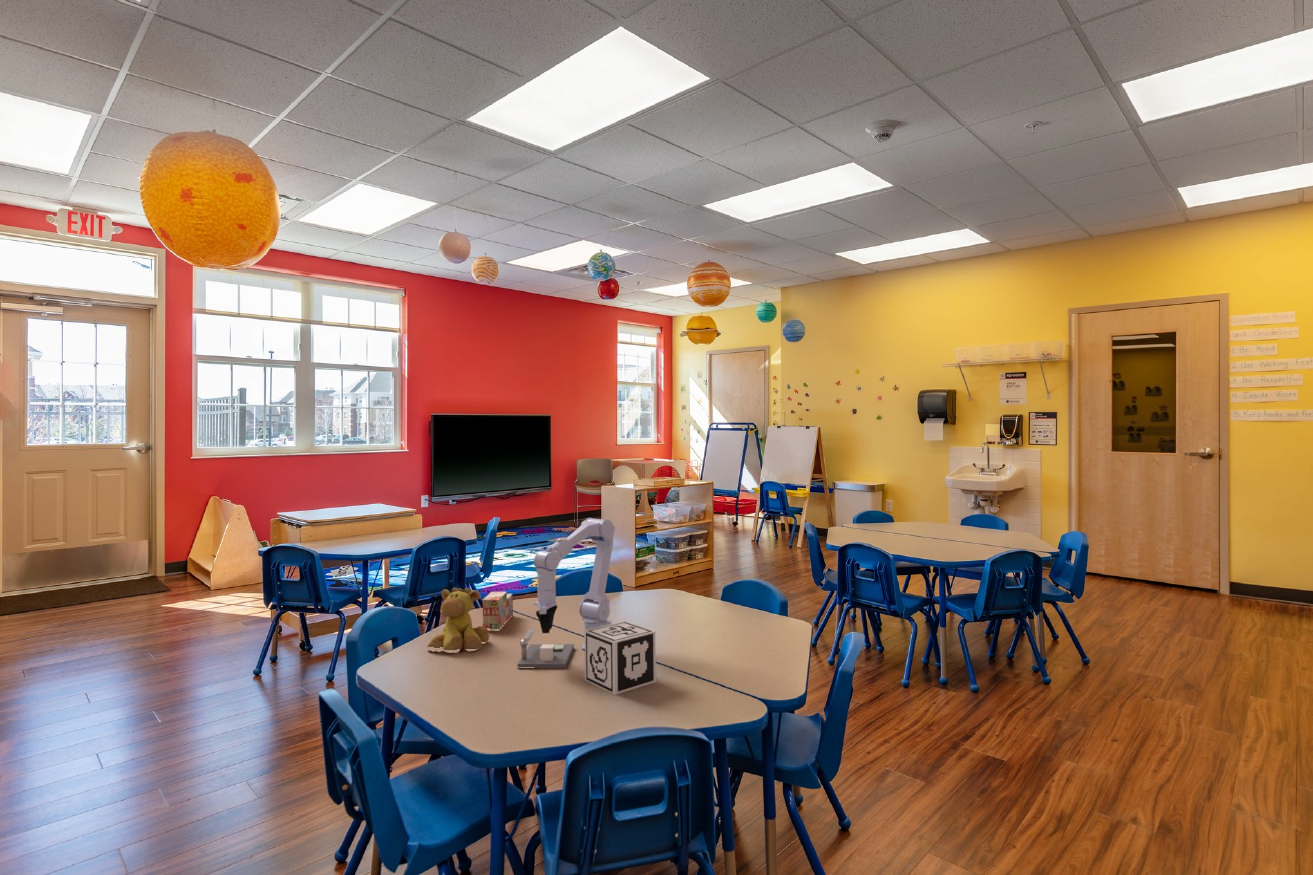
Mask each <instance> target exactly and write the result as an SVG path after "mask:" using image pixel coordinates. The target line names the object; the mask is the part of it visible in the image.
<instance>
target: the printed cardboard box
mask: <svg viewBox="0 0 1313 875" xmlns="http://www.w3.org/2000/svg"><path fill="white" fill-rule="evenodd" d="M511 616H513V617H514V602H513V593H507V591H491V592H489V594H488V595H486V596H485V597H483V598H482V626H483V627H485V628H490V629H500V627H502V625H504V623H505V622H506V621H507V620H508V619H509V618H511ZM511 619H512V618H511Z"/></svg>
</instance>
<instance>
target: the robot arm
mask: <svg viewBox="0 0 1313 875" xmlns="http://www.w3.org/2000/svg"><path fill="white" fill-rule="evenodd" d="M615 529H616V527H615V525H614V523H613V522H612V521H611V520H610V519H601V518H593V517H588V518H587V517H586V519H585V520H583V521H582V522H581V524H580V526H579V527H578V528H576V529H575V530H574V531H573V532H572V533H571V534H570V535H569V536H568V537H566V538H565V537H561V538H560V537H559V538H557V539H556V541H555V542H554V543H552V544H551V545H550V546H547V547H546V549H545V550H540V551H538V552H537V553H536V554H535V555H534V559H533V563H532V564H533V565H534V567H535V572H536V573H537V601H534V602H533V605H534V606H537V608H538V610H536V611H535V615H536V617H537V618H538V622H539V624H540V629H541V633H542V634H549V633H550V630H552V628H553V624H554V618H555V614H556V611H557V609H558V605H557V601H556V599H557V598H556V596H557V592H556V590H557V589H556V588H557V587H556V570H557V568H558V567H559V565H560V563H561V561H562V560H563V559H564V558H566V557H567V556H568V555H569V554H571V553H572V552H573V547H575V546H576V545H578V544H579V543H580V542H582V541H584V540H585V539H587V538H589V539H590V540H591V541H592V542H594V544H595V546H596V551H595V556H594V561H593V562H594V563H593V568H592V574H591V579H590V586H589V590H588V592H586V593H585V594H584V595H583V596H582V601H581V602H580V603H579V607H578V608H579V609H578V612H579V613H578V614H579V615H580V616H581V617H582V621H583V629H584V631H583V636H584V637H583V645H582V647H581V650H585V630H588V629H593V628H597V627H601V626H606V625H610V624H612V621H611V620H607V619H608V618H609V617H610V612H611V611H610V610H611V609H610V599H609V597H608V596H607V595H606V588H607V581H608V575H609V570H610V564H611V558H612V551H613V546H614V536H615Z"/></svg>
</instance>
